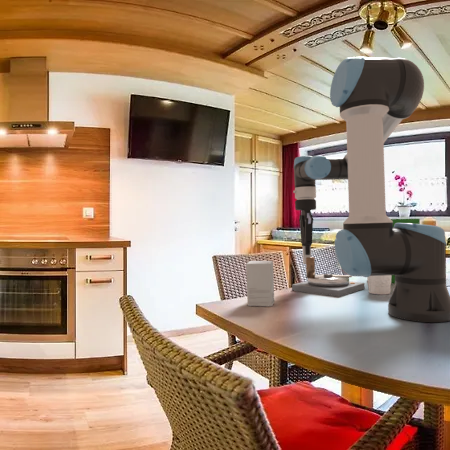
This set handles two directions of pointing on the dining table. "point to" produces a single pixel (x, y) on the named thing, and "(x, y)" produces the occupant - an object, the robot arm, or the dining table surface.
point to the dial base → (329, 288)
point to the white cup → (379, 284)
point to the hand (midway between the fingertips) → (307, 263)
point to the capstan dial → (323, 276)
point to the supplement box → (260, 283)
